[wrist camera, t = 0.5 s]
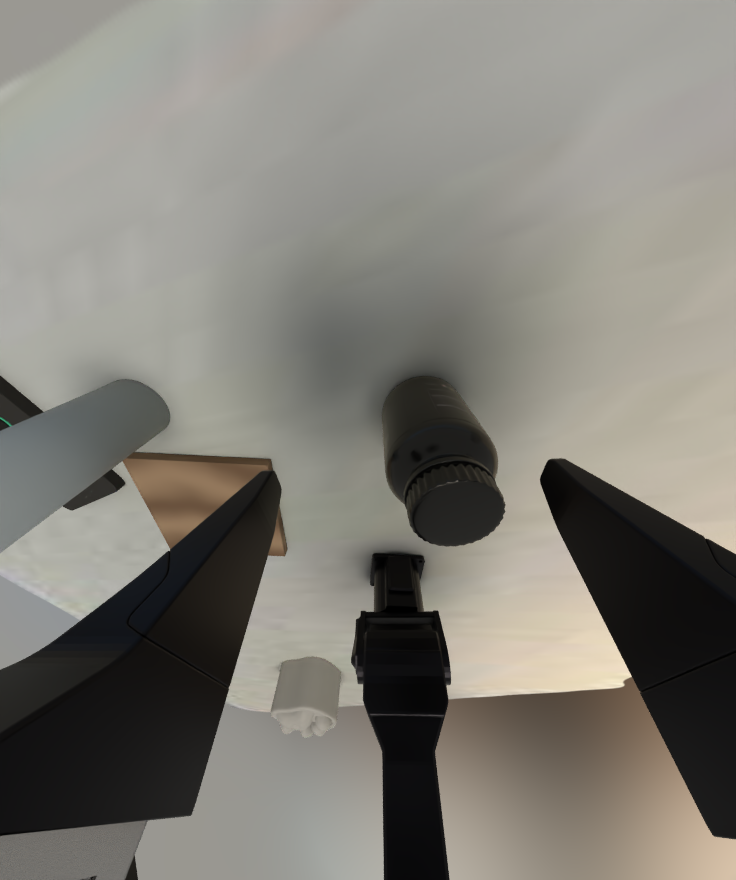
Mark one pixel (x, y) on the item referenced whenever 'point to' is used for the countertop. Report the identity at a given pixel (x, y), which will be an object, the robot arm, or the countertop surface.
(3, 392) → the smart home device
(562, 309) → the countertop surface
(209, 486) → the walnut board
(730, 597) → the robot arm
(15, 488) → the slate round-topped tapered cone
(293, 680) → the lumpy-topped squat cylinder
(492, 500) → the supplement bottle
